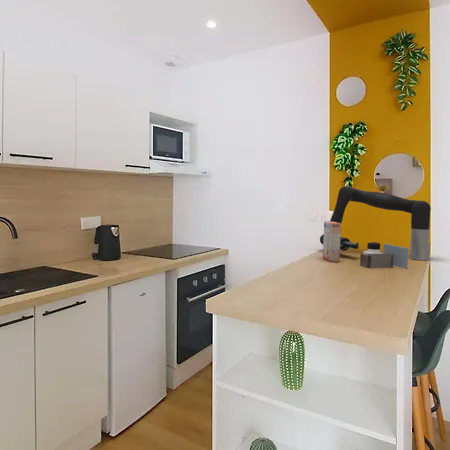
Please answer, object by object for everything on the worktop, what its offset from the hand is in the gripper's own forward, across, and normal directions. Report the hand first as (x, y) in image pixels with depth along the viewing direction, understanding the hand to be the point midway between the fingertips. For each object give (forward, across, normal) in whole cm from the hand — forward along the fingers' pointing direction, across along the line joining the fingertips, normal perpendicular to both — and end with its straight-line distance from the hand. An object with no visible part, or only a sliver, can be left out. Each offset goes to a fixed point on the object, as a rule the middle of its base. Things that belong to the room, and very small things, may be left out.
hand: (357, 247), depth 208 cm
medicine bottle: (+17, -1, +8) cm, 19 cm away
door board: (+17, +11, +8) cm, 22 cm away
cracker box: (-2, -14, +7) cm, 16 cm away
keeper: (+19, 0, +7) cm, 20 cm away
